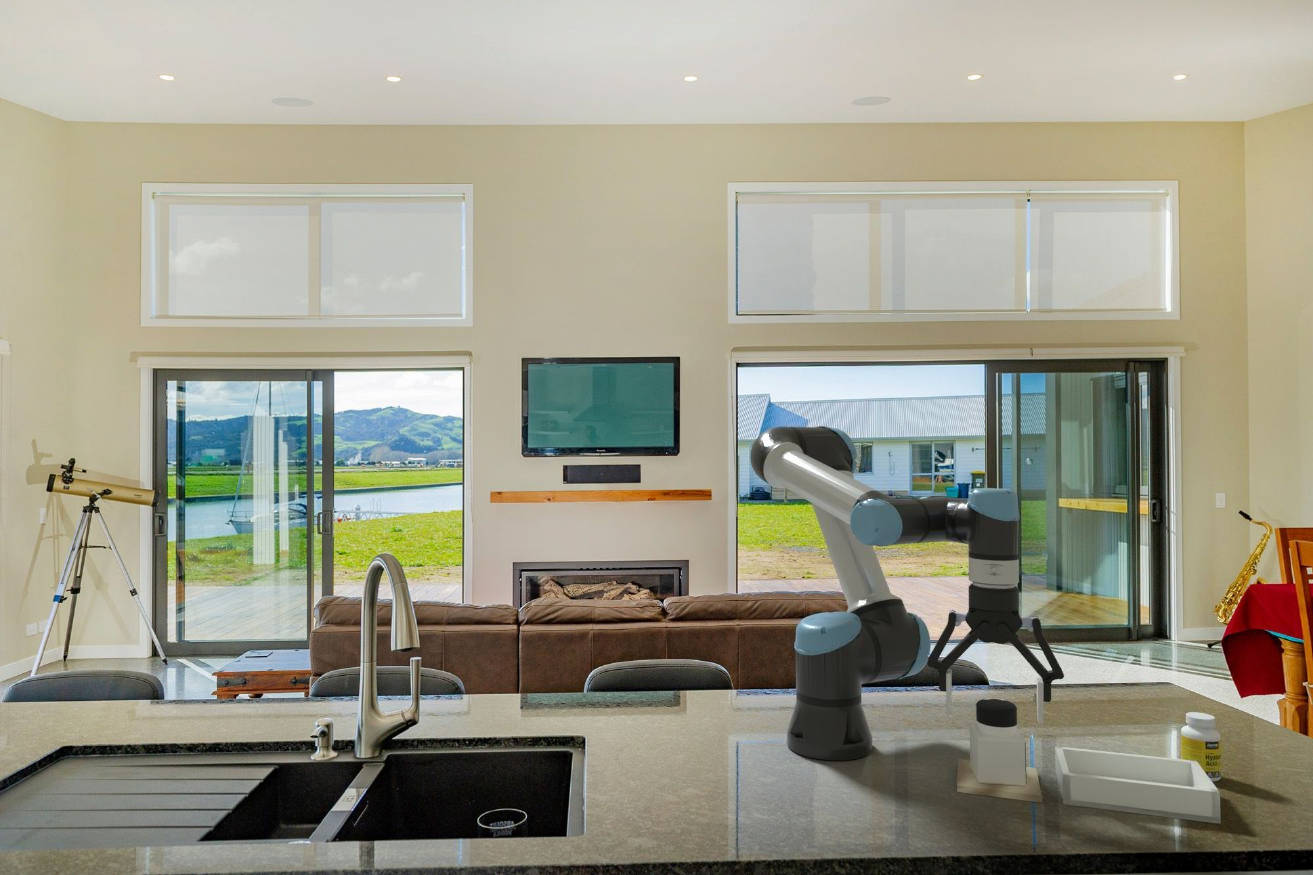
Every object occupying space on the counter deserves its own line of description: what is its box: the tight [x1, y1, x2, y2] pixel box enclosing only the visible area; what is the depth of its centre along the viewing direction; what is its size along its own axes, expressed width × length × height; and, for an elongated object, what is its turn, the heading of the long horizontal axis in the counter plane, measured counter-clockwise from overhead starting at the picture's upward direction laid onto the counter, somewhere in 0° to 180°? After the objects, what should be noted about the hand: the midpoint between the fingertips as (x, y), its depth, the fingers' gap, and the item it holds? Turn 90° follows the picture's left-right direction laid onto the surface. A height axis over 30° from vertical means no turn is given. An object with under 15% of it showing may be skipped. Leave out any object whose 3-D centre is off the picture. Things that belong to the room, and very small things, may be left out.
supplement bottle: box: [1180, 711, 1222, 783], centre depth 134 cm, size 5×5×10 cm
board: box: [956, 758, 1043, 803], centre depth 132 cm, size 12×12×1 cm
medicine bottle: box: [969, 697, 1027, 786], centre depth 132 cm, size 7×7×12 cm
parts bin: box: [1054, 745, 1222, 825], centre depth 126 cm, size 20×13×4 cm, turn 69°
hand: (993, 716), depth 133 cm, fingers open, 13 cm apart
